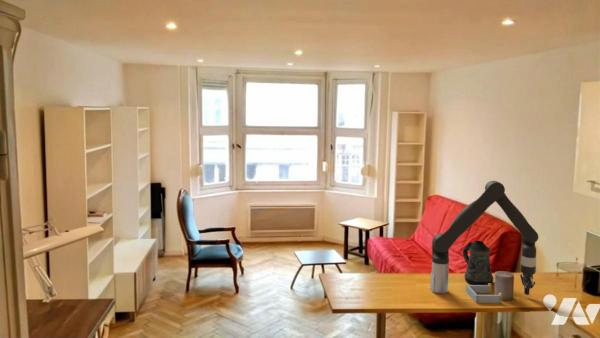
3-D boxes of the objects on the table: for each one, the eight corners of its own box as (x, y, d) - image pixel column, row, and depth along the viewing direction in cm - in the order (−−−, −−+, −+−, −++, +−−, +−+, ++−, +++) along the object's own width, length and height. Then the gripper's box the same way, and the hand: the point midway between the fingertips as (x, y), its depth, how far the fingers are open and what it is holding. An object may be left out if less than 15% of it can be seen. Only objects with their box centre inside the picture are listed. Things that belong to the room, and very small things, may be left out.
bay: (475, 302, 240) (476, 293, 240) (465, 291, 256) (466, 283, 255) (501, 302, 240) (501, 293, 239) (489, 292, 255) (490, 283, 255)
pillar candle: (514, 296, 249) (515, 270, 248) (511, 302, 241) (512, 275, 239) (495, 293, 254) (496, 267, 253) (492, 298, 246) (493, 272, 245)
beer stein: (490, 288, 260) (492, 247, 258) (456, 282, 271) (458, 242, 268) (495, 280, 274) (497, 241, 271) (463, 274, 285) (464, 236, 282)
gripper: (516, 260, 252) (514, 289, 254) (527, 268, 239) (525, 298, 241) (529, 260, 252) (527, 289, 253) (541, 268, 238) (539, 299, 240)
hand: (526, 294), depth 247 cm, fingers closed
